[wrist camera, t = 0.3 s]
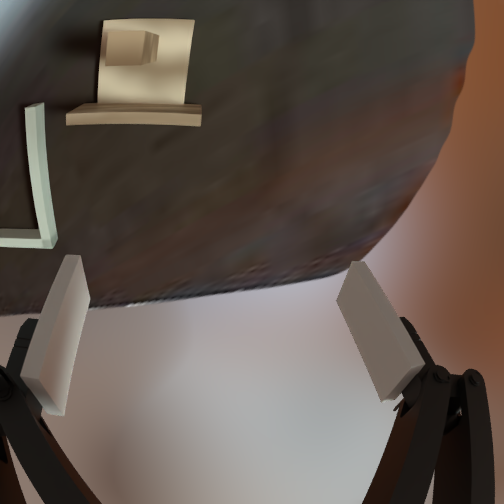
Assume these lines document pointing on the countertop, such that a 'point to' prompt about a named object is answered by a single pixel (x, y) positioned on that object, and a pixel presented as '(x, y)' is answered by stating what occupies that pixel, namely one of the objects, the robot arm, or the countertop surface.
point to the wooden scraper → (142, 75)
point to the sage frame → (35, 188)
